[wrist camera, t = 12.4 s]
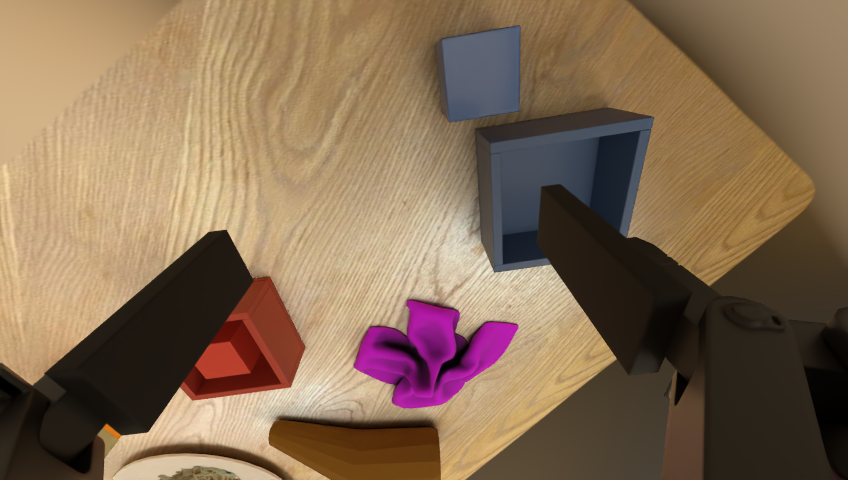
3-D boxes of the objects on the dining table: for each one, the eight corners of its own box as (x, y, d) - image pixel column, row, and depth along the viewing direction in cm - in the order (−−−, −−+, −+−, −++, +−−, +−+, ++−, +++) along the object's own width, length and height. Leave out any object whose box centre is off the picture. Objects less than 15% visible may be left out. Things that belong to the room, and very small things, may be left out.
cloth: (415, 414, 48) (416, 458, 42) (324, 356, 40) (311, 401, 35) (540, 348, 41) (559, 390, 36) (459, 264, 33) (469, 301, 28)
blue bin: (474, 128, 26) (489, 143, 22) (608, 107, 26) (654, 116, 21) (481, 241, 32) (494, 273, 27) (590, 225, 32) (623, 254, 27)
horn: (284, 407, 49) (437, 402, 50) (285, 468, 50) (437, 461, 51) (260, 441, 41) (442, 434, 43) (262, 513, 42) (442, 504, 43)
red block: (209, 313, 35) (180, 348, 30) (251, 306, 34) (229, 341, 30) (229, 342, 37) (206, 379, 33) (269, 337, 37) (250, 373, 33)
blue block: (434, 43, 23) (440, 38, 19) (499, 32, 23) (520, 24, 19) (442, 113, 26) (448, 122, 21) (500, 103, 25) (519, 111, 21)
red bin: (168, 291, 34) (127, 329, 29) (269, 276, 33) (245, 312, 28) (218, 359, 39) (192, 401, 34) (305, 347, 39) (291, 387, 34)
